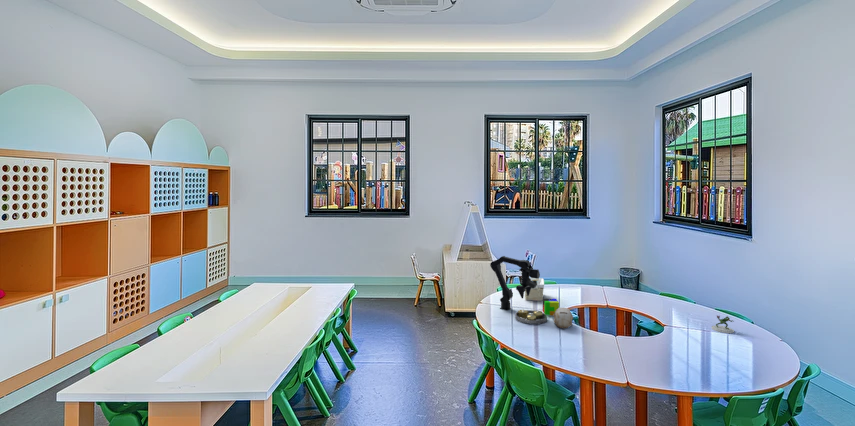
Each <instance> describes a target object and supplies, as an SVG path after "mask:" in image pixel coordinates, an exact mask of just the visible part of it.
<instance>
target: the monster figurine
mask: <svg viewBox="0 0 855 426" xmlns="http://www.w3.org/2000/svg"><path fill="white" fill-rule="evenodd" d="M716 318H717V320H718V321H719V322H718V323H716V324H715V325H712V326H711V329H712V330H713V331H715V332H717V333H723V334H734V333H735V330H734V329H733V328H731V327H729V324H728V323H727V322H730V323H733V322H735V320H730V318H731V317H729V316H725V317H723V318H721V315H720V314H719V315H716ZM723 324H724V325H723Z"/></svg>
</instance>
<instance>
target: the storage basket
mask: <svg viewBox="0 0 855 426" xmlns="http://www.w3.org/2000/svg"><path fill="white" fill-rule="evenodd" d="M529 278H530V279H531V281H537V285H536V287H535V288H534V289H533V288H531V290H530V294H529V296H527V292H526V291H525V292H524V299H525V300H526V301H536V302H537V301H539V302H543V297H544V289H545V279H544V277H539V279H536V278H531V277H529ZM525 290H526V289H525Z"/></svg>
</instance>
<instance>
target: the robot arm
mask: <svg viewBox="0 0 855 426" xmlns="http://www.w3.org/2000/svg"><path fill="white" fill-rule="evenodd" d="M503 263H507V264H511V265H515V266H518V267H519V270H518V271H519V272H521V278H520V280H521V283H520V284H519V285H517V286H516V288H515V290H516V291H517V292H518V294H519V295H520V298H521V299H524V298H525V291H526V292H527V296H529V294H530V290H531V288H533V289H534V288H535V287H536V285H537V281H531V279H530V278H536V279H539V278H541V277H540V276H541V274H540V273H541V272H540V270H539V269H536V268H535V269H534V268H533V266H532V264H531V261H530V260H527V259H517V258H512V257H508V256H505V255H502V256H501V257H499V258H497V259H496V260H493V261H490V264H489V265H490V268H491V270H492V271H493V272H494V273H495V275H496V278H497V280H498V283H499V285H500V288H501V291H502V292H501V294H502V297H501V298H500V299H499V300H500V307H499V309H500V310H505V311H508V310H510V309H511V308H512V307H511V299H512V298H513V296H514V292H513V290H512V288H509V287H508V285H507V283H506V279H505V277H504V274H503V272H502V266H501V264H503ZM525 289H526V290H525Z"/></svg>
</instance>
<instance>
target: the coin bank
mask: <svg viewBox="0 0 855 426" xmlns="http://www.w3.org/2000/svg"><path fill="white" fill-rule="evenodd" d="M552 317H553V319H554V320H553V322H554V324H555V325H556V327H557V328H560V329H563V330H564V329H568V328H570V327H571V326H573V320H574V316H573V314H572V312H571V309H569V308H567V307H559V308H558V309H557V310H556V311H555V313H554V315H552Z"/></svg>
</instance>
